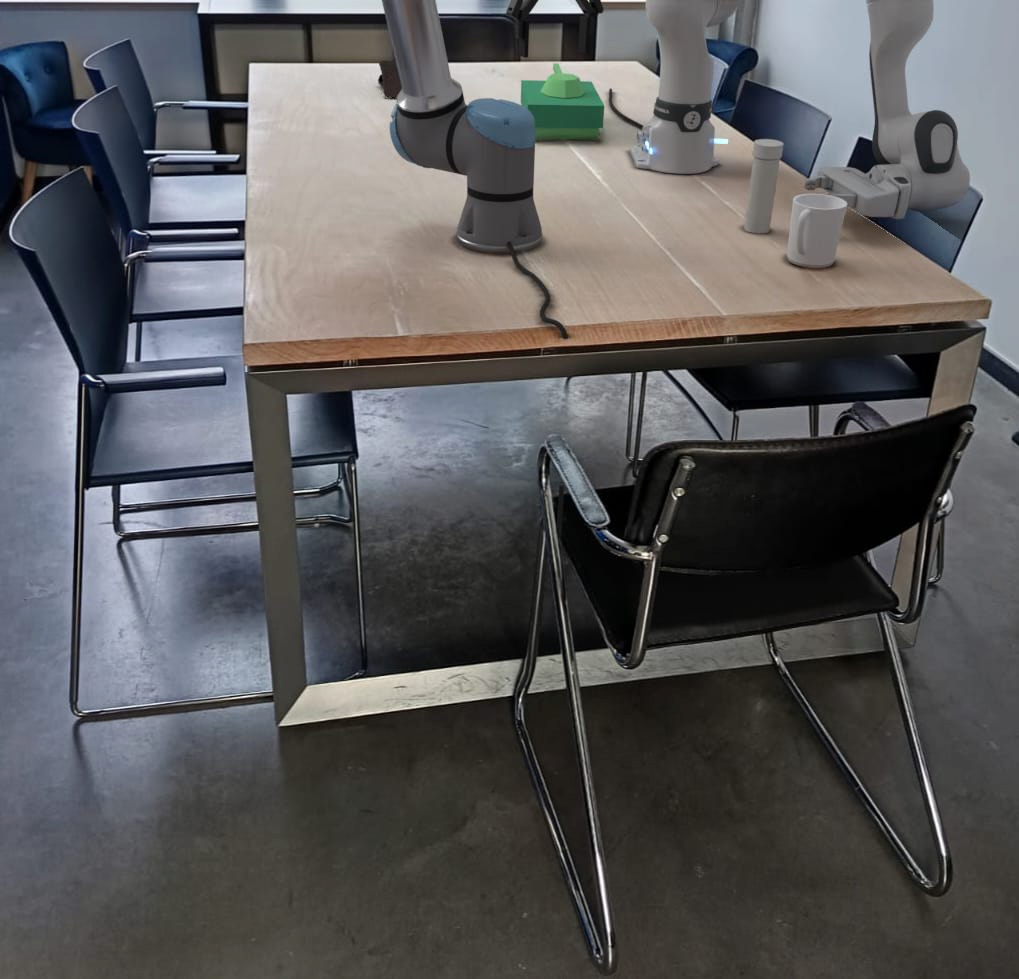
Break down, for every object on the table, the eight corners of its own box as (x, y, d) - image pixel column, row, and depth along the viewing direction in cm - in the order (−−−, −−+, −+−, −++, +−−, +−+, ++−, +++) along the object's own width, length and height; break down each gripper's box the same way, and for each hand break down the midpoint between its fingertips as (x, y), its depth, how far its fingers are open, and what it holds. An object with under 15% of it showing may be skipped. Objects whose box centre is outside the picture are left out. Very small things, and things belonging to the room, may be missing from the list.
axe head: (443, 87, 294) (392, 77, 287) (436, 115, 299) (385, 106, 292) (421, 62, 307) (371, 52, 300) (414, 89, 311) (365, 80, 304)
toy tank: (589, 59, 279) (605, 88, 249) (586, 109, 285) (601, 143, 256) (520, 58, 278) (528, 87, 248) (518, 108, 284) (526, 142, 255)
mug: (798, 248, 195) (807, 190, 190) (845, 259, 190) (856, 201, 185) (769, 263, 188) (777, 204, 182) (816, 276, 183) (827, 215, 178)
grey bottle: (747, 233, 202) (758, 148, 194) (741, 225, 206) (752, 141, 198) (772, 233, 202) (784, 148, 194) (765, 225, 206) (778, 141, 198)
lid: (756, 159, 195) (758, 146, 193) (749, 151, 199) (751, 138, 198) (785, 159, 195) (787, 146, 194) (777, 152, 199) (779, 139, 198)
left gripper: (605, -69, 212) (597, 47, 222) (490, -68, 201) (488, 54, 212) (626, -66, 206) (617, 54, 217) (509, -65, 196) (506, 61, 207)
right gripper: (861, 157, 212) (795, 159, 210) (915, 187, 195) (844, 190, 193) (855, 189, 216) (790, 192, 213) (908, 222, 199) (838, 225, 196)
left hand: (553, 54), depth 215 cm, fingers open, 13 cm apart
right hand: (816, 191), depth 203 cm, fingers open, 8 cm apart
